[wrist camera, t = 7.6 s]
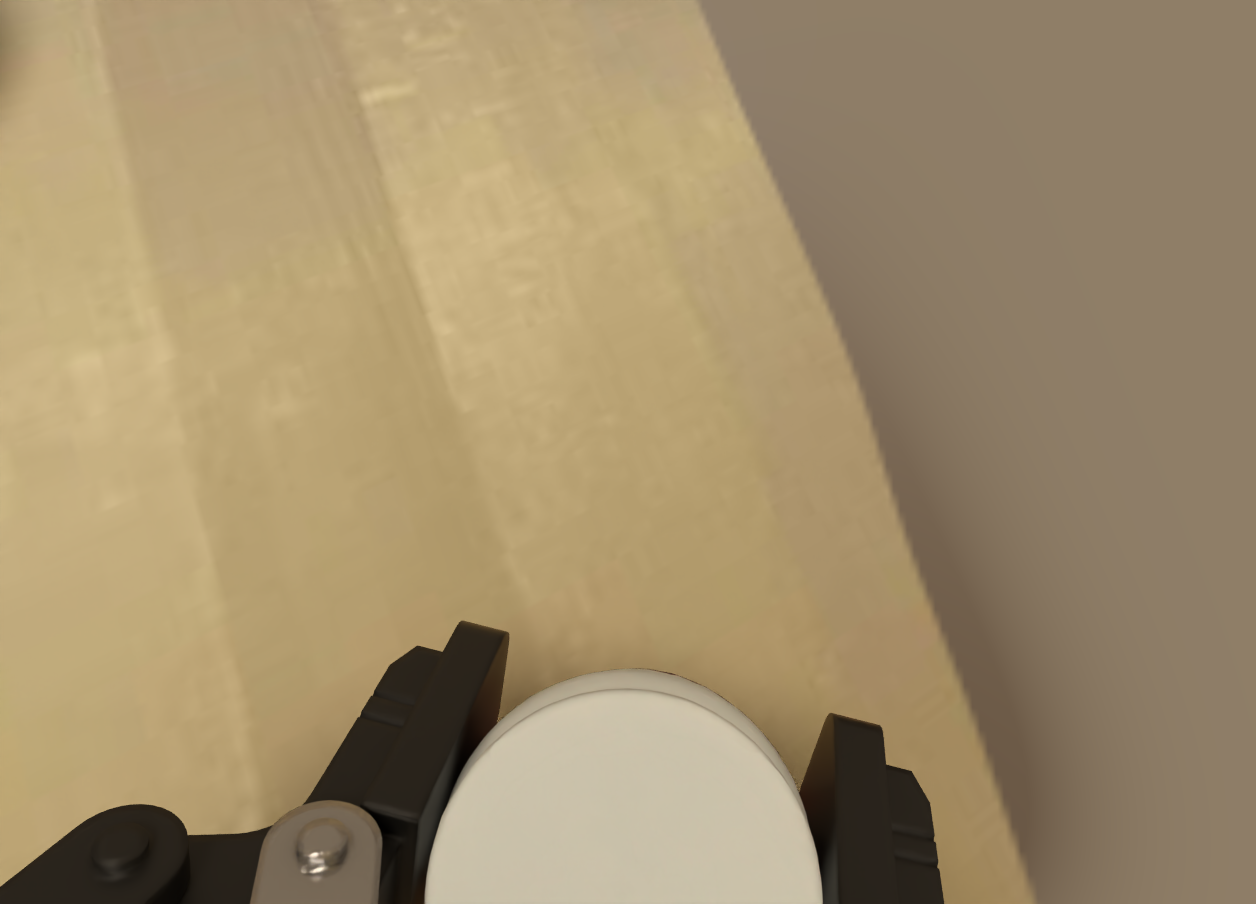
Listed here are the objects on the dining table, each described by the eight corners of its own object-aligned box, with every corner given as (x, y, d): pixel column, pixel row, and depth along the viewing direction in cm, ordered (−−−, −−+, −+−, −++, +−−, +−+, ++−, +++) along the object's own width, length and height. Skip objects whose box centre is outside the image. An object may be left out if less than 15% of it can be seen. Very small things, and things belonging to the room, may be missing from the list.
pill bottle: (529, 1006, 16) (432, 1251, 8) (473, 730, 18) (343, 716, 10) (789, 930, 17) (934, 1098, 9) (715, 666, 18) (781, 601, 10)
